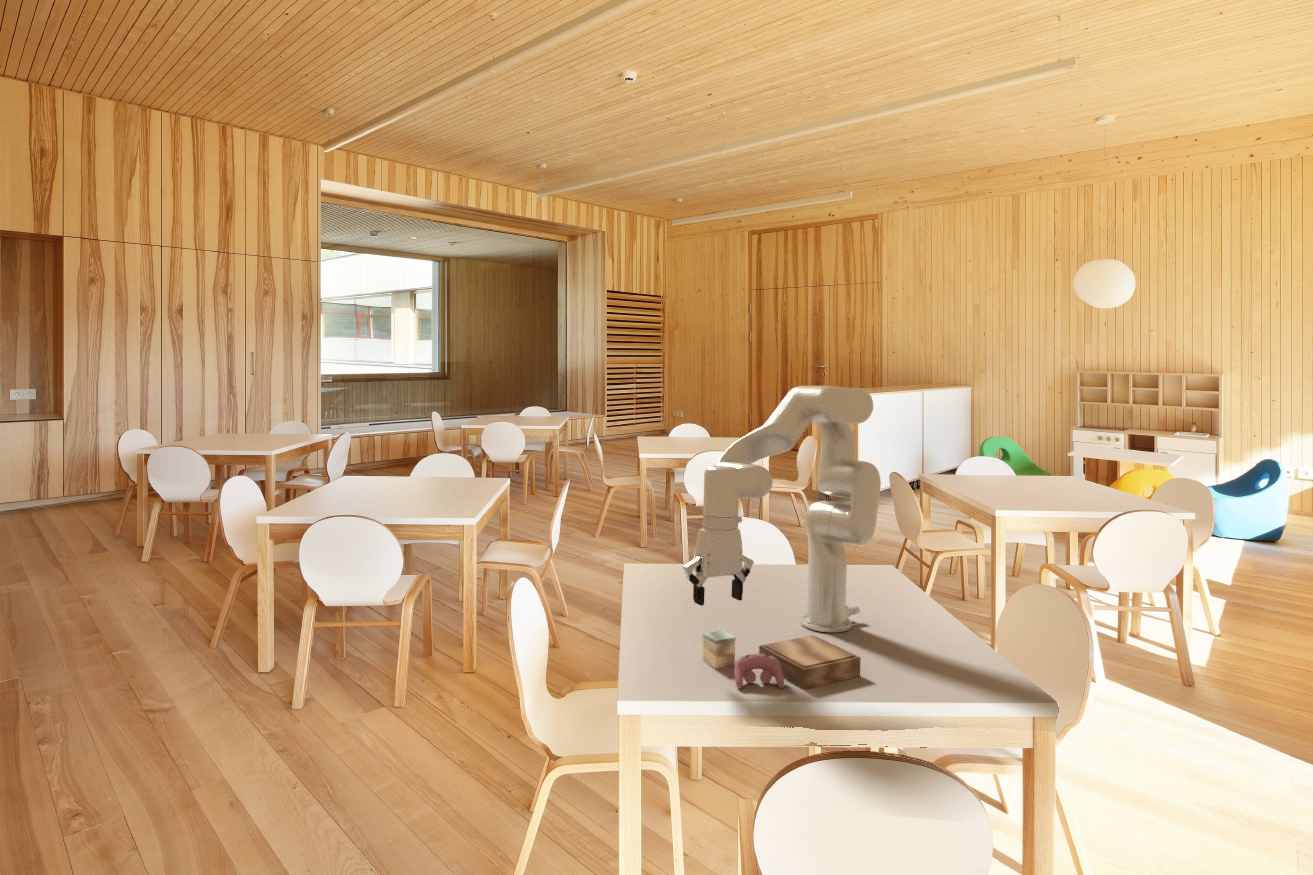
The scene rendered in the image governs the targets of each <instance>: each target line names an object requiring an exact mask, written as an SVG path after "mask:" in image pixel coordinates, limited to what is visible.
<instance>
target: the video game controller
mask: <svg viewBox="0 0 1313 875" xmlns="http://www.w3.org/2000/svg"><path fill="white" fill-rule="evenodd" d="M753 670H762V671H761V672H760V675H759V680H760V681H761V683H763V684H769V683H770V682H771V680H772V678H773V677H774V679H775V681H776V684H777V686H778V688H779V689H780V690H782V689H783V688H784V685H785V678H783V672H782V668H781V665H780V663H779V661H778V660H777V659H776V658H775V657H772V656H769V655H765V654H759V653H750V654H747V655H742V656H739V658H737V659H735V664H734V665H733V671H734V672H733V675H734V676H733V677H734V681H735V686H736V688H737V689H738V690H741V689H742V688H743V684H744V681H745V682H746V683H747V684H752V683H755V682H756V680H757V675H756V673H755V672H754V671H753Z"/></svg>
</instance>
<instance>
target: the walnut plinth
mask: <svg viewBox="0 0 1313 875" xmlns="http://www.w3.org/2000/svg"><path fill="white" fill-rule="evenodd" d="M758 649H759V650H758V654H765V655H769V656H772V657H775V658H776V659H777V660H778V661H779V663H780V665H781V668H782V672H783V678H784V680H786V681H789V682H790V683H792V684H793V685H795V686H797V687H799V688H801V689H802V690H806V689H810V688H815V687H819V686H823V685H827V684H832V683H836V682H840V681H845V680H848V679H854V678H857V676H858V677H860V676H861V660H862V659H861V656H858V655H857V654H854V653H852V652H850V651H848V650H846V649H845V648H841V647H840V646H837V645H836V644H833V643H831V642H829V641H827V640H824V639H823V638H820V637H819V636H816V635H814V634H813V635H812V634H811V635H808V636H807V635H806V636H802V637H796V638H791V639H788V640H781V641H776V642H771V643H766V644H760V645H759V646H758Z"/></svg>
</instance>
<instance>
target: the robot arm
mask: <svg viewBox="0 0 1313 875" xmlns="http://www.w3.org/2000/svg"><path fill="white" fill-rule="evenodd" d="M873 410H874V401H873V398H872V396H871V393H869V391H867V390H866V389H863V388H861V387H859V388H858V387H843V386H835V385H834V386H833V385H799V386H795V387H793V388H791V389H790V390H789V391H788V392H787V393H786V395H785V396H784V398H783V399H782V400H781V401H780V402H779V404H778V405H777V407H776V408H775V410H774V411H773V412H772V414H770V416H769V417H768V419H767V420H766V421H765V422H764V424H762V425H761V426H760V427H757V428H756V429H754V430H752V431H751V432H748V433H747V434H746V435H744V436H743V437H741V438H739V439H738V440H737V439H736V441H734V442H733V443H731V445H730V446H729V447H728V448H727V449H726V450H725V451H724V452H723V454H722V455H721V456H720V457H719V459H718V461H717V462H716V463H715V464H714V465H710V466H708V467H706V468H705V470H704V476H703V509H702V511H703V512H702V516H703V517H702V528H699V529H698V533H697V538H696V541H695V547H694V548H695V550H694V556H693V558H694V559H692V560H690V561H689V562H687V563H686V564H685V565H683V567H682V569H683V571H684V573H685V576H686V579H687V580H688V581H690V583H691V584H692V586H693V591H692V592H693V593H692V594H693V596H692V599H693V602H694V603H695V604H697V605H699V606H704V605H705V591H706V588H705V587H704V586H703V585H704V584H705V582H706V581H707V579H708V578H718V577H728V576H732V577H733V578H734V579H732V581H731V598H733V599H735V600H737V601H743V594H744V593H743V592H744V590H743V589H744V582H746V580H747V579H746V578H747V577H748V576H749V574H750V573H751V569H752V568H753V565H754V560H753V559H752V558H749V557H747V556H745V555H744V554H743V553H744V552H743V542H742V535H741V529H740V528H739V524H740V523H742V521H743V518H742V516H739V500H740V499H750V500H757V499H761V498H763V497H765V496H767V495H768V494H769V492H770V491H771V490H772V487H773V477H772V473H770V471H769V469H767V468H765V467H764V466H762V465H757V464H754V463H755V462H758V461H760V460H763V459H766V458H768V457H773V456H777V455H781V454H783V453H786V452H789V451H791V450H792V449H793V448H794V447H795V445H796V444H797V443H798V441H799V440H800V438H801V437H802V435H803V434H804V432H806V430H807V428H808V427H809V426H810V424H812V423H815V425H816V427H817V428H818V431H819V435H820V450H819V457H818V458H819V459H818V464H817V471H816V472H817V473H816V487H817V489H818V491H819V492H820V493H821V494H824V495H826V496H827V495H828V496H831V497H837V498H843V499H850V503H844V502H838V501H831V500H819V501H815V502H813V503H811V504H810V505H809V506H808V508H807V510H806V512H805V514H804V515H805V517H804V522H805V523H804V525H805V530H806V536H807V542H808V558H807V560H808V563H807V598H806V599H807V602H806V603H807V604H806V607H807V609H806V614H803V615H802V616H801V618H800V624H801V625H802V626H803V627H804V628H807V629H809V630H812V631H815V632H820V633H821V632H822V633H842V632H846V631H849V630H851V629H852V624H853V623H852V620H850V617H851V615H853V616H855V615H859V614H860V612H861V611H860V610H861V609H860V608H859V606H851V607H849V606H848V605H847V574H848V572H847V571H848V557H847V556H848V555H847V552H846V548H845V547H844V544H843V543H845V544H850V545H855V546H864V545H866V544H868V543H869V542H870V541H871V540H872V538H873V536H874V533H875V531H876V530H875V529H876V526H877V525H876V524H877V520H878V519H877V518H878V510H879V503H880V493H881V484H882V482H881V476H880V473H879V470H878V468H877V466H875V464H873V463H872V462H868V461H864V460H855V456H856V455H855V454H856V453H855V452H856V443H857V442H856V437H855V434H854V431H853V430H852V427H851V425H850V424H857V425H858V424H862V423H865V422H867V421H868V419H869V418H870V417H871V415H872V414H873ZM743 564H744V565H743ZM694 573H695V574H694Z"/></svg>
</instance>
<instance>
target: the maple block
mask: <svg viewBox="0 0 1313 875" xmlns="http://www.w3.org/2000/svg"><path fill="white" fill-rule="evenodd" d="M702 638H703V639H702V642H703V643H702V650H703V652H702V661H703V662H705V663H706V664H708V665H709V666H711V667H712V668H714V669H719V668H725V667H730V666H734V664H735V662H736V659H735V658H736V636H735V635H732V634H730V633H728V632H726V631H725V630H715V631H710V632H705V633H702Z"/></svg>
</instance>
